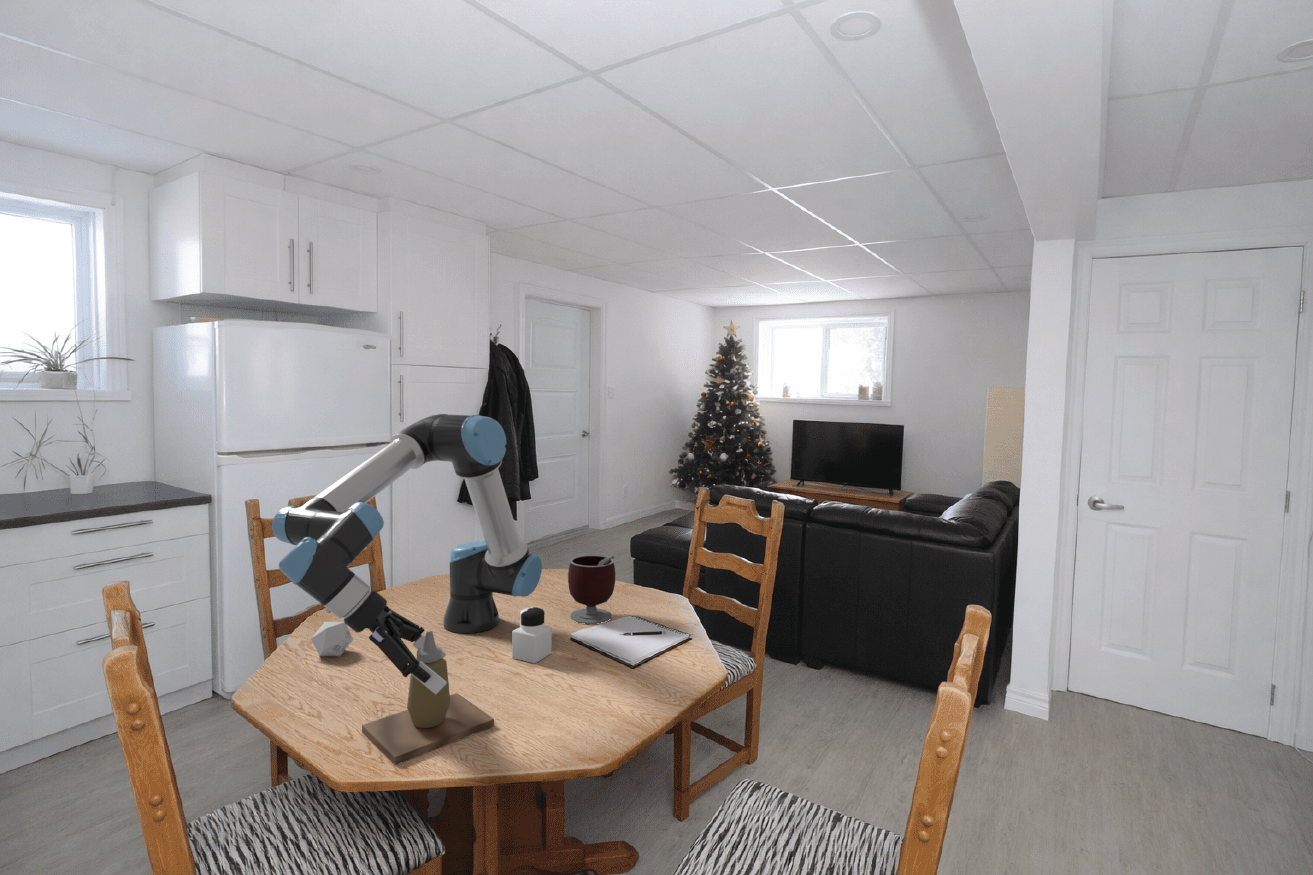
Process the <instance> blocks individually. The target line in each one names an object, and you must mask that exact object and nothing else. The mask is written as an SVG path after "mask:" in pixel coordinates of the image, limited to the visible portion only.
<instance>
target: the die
mask: <svg viewBox="0 0 1313 875" xmlns="http://www.w3.org/2000/svg"><path fill="white" fill-rule="evenodd" d="M349 629H350V628H349V626H348V625H346V624H345V623H344V621H324V623H323V624H322V625H321V626H320V627H319V628H318V630H317V631H316V632H315V633H314V634H313V636H312V637H311V638H310V640H311V643H312V644H313V646H314V648H315V650H316V652H317V654H318V656H319V657H342V655H343V654H344V652H345V651H346V649H347V648H348V647H349V645H350V644H351V643H352V641H353V640H354V638H353V635H352V634H351V631H350V630H349Z"/></svg>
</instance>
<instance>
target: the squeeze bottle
mask: <svg viewBox="0 0 1313 875" xmlns="http://www.w3.org/2000/svg"><path fill="white" fill-rule="evenodd" d="M435 644H436V641H435V635H434V632H433V631H432V630H428V631H425V640H424V645H423V648H420V649H419V650H418V649H417V650H416V659H417V661H418V662H420V661H422V662H423V663H424V664H425V665H427V666H428V667H429V668H430V669H432V670H433V671H434V672H435V673H437V674H438V675H439V676H440V677H441V678H443V679H444V680H445V681H446V682H447V684H446V685H445V686H444V687H443V688H442V689H441V690H440V691H439V692H438V693H437V694H435V693H433V692H432V691H431V690H430V689H428V688H427V687H426V686H425V685H423V684H422V683H421V682H420V681H418V680H417V679H416V678H415V677H413V676H412V675H411V674H410V678H409V686H408V687H409V688H408V696H407V704H406V705H407V706H406V708H407V709H406V710H408V711H409V714H410V717H411V720H412V722H413V724H414V725H415V726H416V727H419V728H430V727H434V726H437V725H439V724H441V723H442V722H443V721H444V719H445V716H446V713H447V711H448V708H449V705H450V695H451V694H450V693H451V692H450V684H449V674H448V673H449V672H448V666H447V665H448V663H447V660H446V659H445V657H444V658H442V650H443V649H442V648H441V647H440V646H438V645H437V644H436V645H437V646H438V647H437V646H436V645H435Z"/></svg>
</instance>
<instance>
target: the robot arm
mask: <svg viewBox="0 0 1313 875" xmlns="http://www.w3.org/2000/svg"><path fill="white" fill-rule="evenodd" d="M506 445H507V437H506V433H505V431H504V428H503V427H502V425H501V424H500V423H499V421H497V420H496V419H494V418H492V417H489V416H484V415H479V414H473V415H464V414H461V415H460V414H446V413H438V414H434V415H430V416H427V417H425V418H422V419H420V420H418V421H416V422H415V421H414V423H412V424H410V425H408V426H407V427H405V428H403V429H402V430H400V431H399V432H398V433H396V434H394V435H393V436H392V437H391V438H390V442H389V443H388V445H386V446H385V447H384V448H381V450H379V451H378V452H376V453H375V454H374V455H372V456H371V457H369V458H367V459H366V460H365V461H364V462H363V463H361V464H359V465H358V466H357V467H355V468H353V469H352V470H351V471H350V472H348V473H347V474H345V475H344V476H343V477H341V478H339V479H338V480H336V481H335V482H334V483H332V484H331V485H330V486H328V487H327V488H326V489H324V490H322V491H321V492H319V493H318V494H317V495H315V496H314V497H312V498H311V499H310V500H308V501H307V502H305V503H303V504H302V505H300V506H299V505H292V506H291V505H290V506H284V507H283V508H281V509H279V510H278V511H277V512H276V514H275V515H274V517H273V519H272V520H273V521H272V522H271V523H272V525H271V528H272V529H271V530H272V533H273V535H274V536H275V538H276V539H277V540H279V541H280V542H283V543H286V544H290V545H293V546H294V547H293V548H292V549H291V550H290V551H288V553H287V554H285V556H284V557H283V558H281V559H280V561H279V562H278V569H279V570H280V571H281V572H282V573H283V575H284V576H285V577H286V578H287V579H289V580H290V581H291V582H292V584H294V585H295V586H297V587H299V588H300V589H301V590H302V591H304V592H305V593H306V594H308V595H309V596H310V597H311V598H313V599H314V600H315V601H317V602H318V603H319V604H320V605H322V606H323V607H325V609H326V610H325V612H326V613H327V614H330V613H332V614H333V615H334V616H335V617H337V618H338V619H343V622H344V623H345V624H346V625H347V627H348V628H349V629H351V630H353V631H354V632H355V633H357V634H358V633H361V632H363V631H364V630H365V629H368V630H369V631H370V632H371V634H370V635H369V636H368V639H369V640H370V641H371V642H372V643H373V644H374V645H375V646H376V647H378V649H379V650H380V651H381V652H382V653H383V654H384V655H385V657H387V659H389V661H390V662H391V663H392V665H394V666H395V668H396V669H398V671H399V672H400V673H401V674H402V676H403V678H407V677H408V676H409V675H410V676H411V675H412V676H413V677H415V678H416V679H417V680H418V681H420V682H421V683H422V684H423V685H425V686H426V687H427V688H428V689H430V690H431V691H432V692H433V693H435V694H437V693H438V692H439V691H440V690H441V689H442V688H443V687H444V686H445V685H446V684H447V682H446V681H445V680H444V679H443V678H441V677H440V676H439V675H438V674H437V673H435V672H434V671H433V670H432V669H430V668H429V667H428V666H427V665H425V664H424V663H423V662H422V661H420V662H418V661H417V657H416V656H415V655H414V654H413V653H412V651H411V650H410V649H409V648H408V646H407V645H406V643H404V641H405V640H406V641H408V642H410V643H412V646H413V647H414V648H415V649H417V650H419V649H420V648H423V645H424V640H425V636H426V634H424V632H426V631H425V628H424V627H422V626H420V625H418V624H416V623H415V622H413V621H412V620H409V619H408V618H406V617H404V616H402V615H401V614H399V613H397V612H396V611H394V610H393V609H391V608H390V607H389V606H388V605H387V603H388V601H387V599H386V598H385V597H384V596H382V595H380V593H379V592H378V591H376V590H374V589H373V590H371V586H370V585H369V584H368V583H367V582H365V581H364V580H363V579H362V578H361V577H359V576H358V575H357V574H356V573H355V572H354V571H353V570H351V569H350V568H349V566H350V565H351V564H352V562H354V561H355V559H356V558H358V557H359V555H360V554H361V553H362V552H363V551H364V550H365V549H366V548H367V546H369V544H371V543H372V542H373V541H374V540H375V538H376V537H377V536H378V535H379V533H380V532H381V530H383V528H384V524H385V523H384V522H385V521H384V519H383V517H382V515H381V512H379V511H378V509H376V508H375V507H374V506H373V505H371V504H369V503H368V502H369V501H371V500H372V499H373V498H375V497H376V496H377V495H379V494H380V493H381V492H382V491H384V490H385V489H386V488H388V487H389V486H390V485H392V484H393V483H394V482H395V481H397V480H398V479H399V478H400V477H402V476H403V475H404V474H406V473H407V472H408V471H410V470H411V469H412V470H415V469H416V470H417V469H418V468H420V467H422V466H424V464H427V463H430V462H435V461H437V462H438V461H440V462H449V463H452V464H451V465H452V467H453V469H454V473H455V475H456V476H457V477H459V478H462V479H464V481H465V485H466V487H467V491H468V494H469V497H470V500H471V503H472V506H473V509H474V512H475V514H476V518H477V521H478V523H479V527H480V530H481V533H482V536H483V538H484V540H478V541H472V542H471V541H470V542H465V543H462V544H459V545H458V544H457V545H455V546H454V547H452V549H451V551H450V556H449V561H448V562H449V600H448V603H447V607H446V610H445V612H444V616H443V628H444V629H445V630H446V631H449V632H453V633H459V634H473V633H479V632H485V631H487V630H491V629H493V628H495V627H496V626H498V625H499V621H500V615H499V614H500V613H499V611H498V608H497V605H496V601H495V599H494V596H493V594H494V593H497V594H501V595H506V596H511V597H522V598H523V597H528V596H530V595H531V594H532V593H533V592H534V591H535V590H536V588H537V587H538V585H539V582H540V579H541V576H542V570H543V564H542V558H541V557H540V556H539V555H538V554H535V553H531V552H530V549H529V547H528V544H527V542H526V540H524V539H522V538H520V537H519V533H518V530H517V527H516V523H515V520H514V517H513V513H512V509H511V506H510V504H509V500H508V496H507V492H506V490H505V486H504V484H503V480H502V477H501V474H500V470H499V468H500V467H501V465H502V463H503V459H504V457H505V454H506V451H507V448H506ZM402 639H403V640H402ZM435 645H436V646H437V647H439V646H438V645H437V644H436V643H435ZM446 656H447V653H446V652H445V651H444V650H443V649H442V658H444V659H445V657H446Z"/></svg>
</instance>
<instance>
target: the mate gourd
mask: <svg viewBox="0 0 1313 875" xmlns="http://www.w3.org/2000/svg"><path fill="white" fill-rule="evenodd" d="M614 558H615V556H613V555H611V556H605V555H598V554H591V555H590V554H586V555H578V556H575V557H572V558H571V559H570V560H569V562H570V563H569V566H568V571H567V572H568V573H567V576H568V577H567V584H568V590H569V593H570V596H571V597H572V598H573V600H574V601H575V602H576V603H577V604H581V605H584V606H586V607H585V608H580V609H576V610H574V611H572V612H571V613H570V615H569V616H570V617H569V618H571V619H572V620H574V621H576V622H578V623H577V624H579V623H585V624H596V625H598V624H597V623H601V622H605V621H608V620H609V619H611V618H612V617H613V614H612V613H611V611H609V610H607V609H603V608H597V606H598V605H599V606H600V605H602V604H604V603H607V602H608V600H609V599H610V598H611V597H612V595H613V593H614V591H615V590H614V589H615V586H616V568H615V561H614ZM571 619H570V620H571ZM572 620H571V621H572ZM611 620H612V619H611ZM576 622H575V623H576ZM608 622H609V621H608ZM585 624H584V625H585Z"/></svg>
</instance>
